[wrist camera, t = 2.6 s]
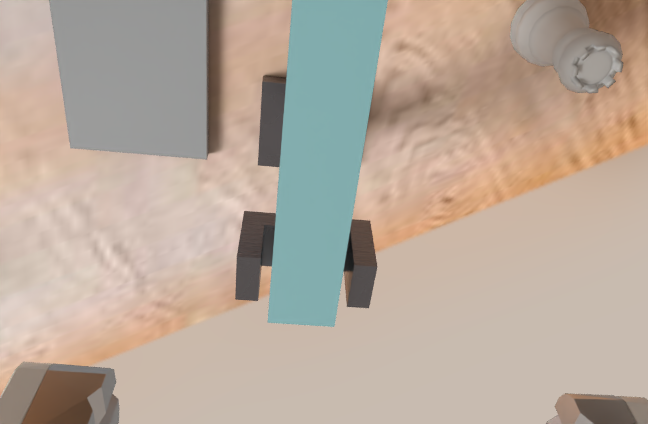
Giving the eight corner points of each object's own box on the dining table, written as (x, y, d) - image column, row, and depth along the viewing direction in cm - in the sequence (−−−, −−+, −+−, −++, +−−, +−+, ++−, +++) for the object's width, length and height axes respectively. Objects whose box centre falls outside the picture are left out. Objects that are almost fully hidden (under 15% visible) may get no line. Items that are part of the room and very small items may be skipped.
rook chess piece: (498, 55, 37) (540, 106, 30) (519, -18, 35) (570, 20, 28) (566, 63, 37) (622, 114, 31) (591, -10, 35) (658, 30, 28)
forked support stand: (280, -237, 29) (256, -293, 15) (400, -220, 29) (484, -260, 15) (259, 158, 41) (234, 328, 27) (344, 165, 41) (363, 336, 27)
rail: (310, -229, 18) (310, -238, 15) (407, -215, 18) (424, -222, 15) (271, 279, 29) (267, 322, 26) (331, 283, 29) (334, 326, 26)
